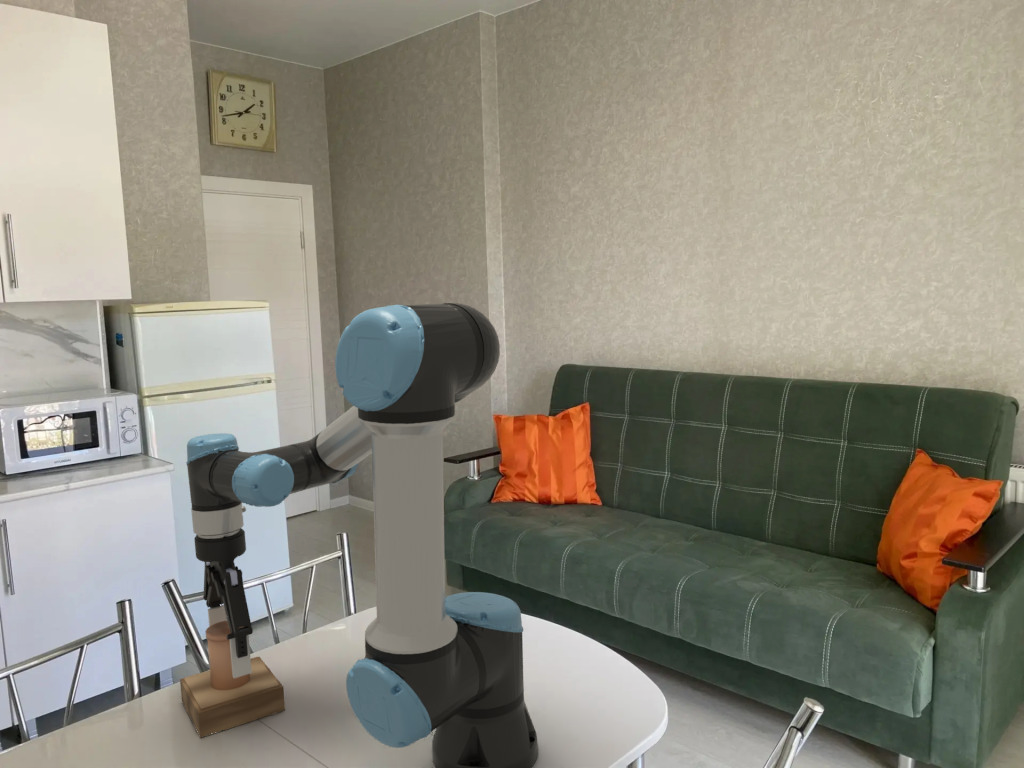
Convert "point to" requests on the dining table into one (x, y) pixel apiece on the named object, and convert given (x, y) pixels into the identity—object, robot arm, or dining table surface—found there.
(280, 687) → the stand
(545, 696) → the dining table surface
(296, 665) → the dining table surface
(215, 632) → the canister
